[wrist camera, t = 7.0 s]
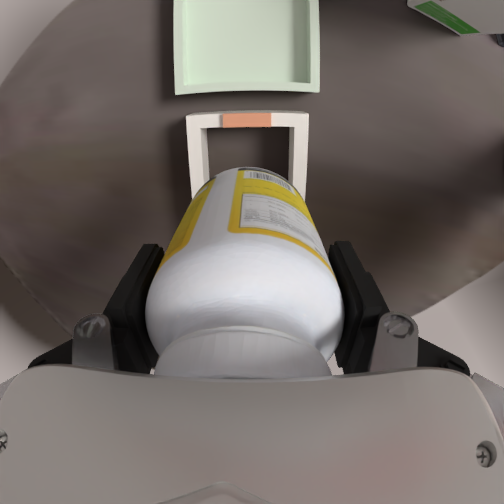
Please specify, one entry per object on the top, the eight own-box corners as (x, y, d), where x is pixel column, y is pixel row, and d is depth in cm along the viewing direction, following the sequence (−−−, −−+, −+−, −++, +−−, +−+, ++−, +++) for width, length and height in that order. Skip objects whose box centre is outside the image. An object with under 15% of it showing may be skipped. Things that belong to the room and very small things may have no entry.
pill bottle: (193, 266, 18) (145, 452, 8) (187, 161, 15) (67, 325, 5) (300, 271, 18) (333, 459, 8) (314, 166, 15) (419, 339, 5)
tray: (311, -28, 18) (316, -36, 16) (313, 92, 25) (319, 92, 23) (180, -25, 18) (174, -33, 16) (181, 94, 25) (175, 94, 23)
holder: (302, 111, 26) (309, 114, 22) (292, 286, 36) (296, 306, 33) (193, 112, 26) (184, 116, 22) (208, 286, 36) (204, 307, 33)
